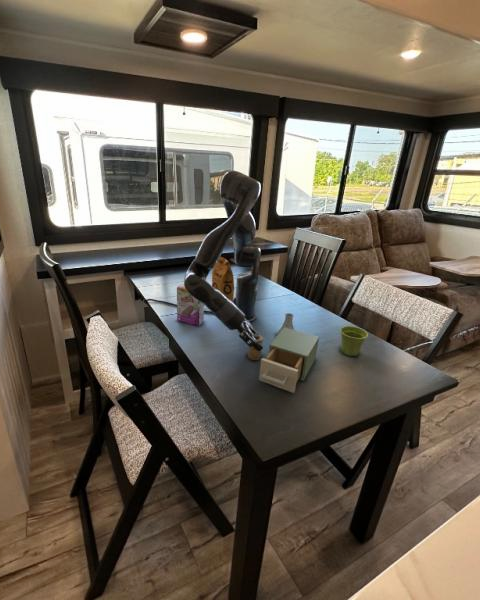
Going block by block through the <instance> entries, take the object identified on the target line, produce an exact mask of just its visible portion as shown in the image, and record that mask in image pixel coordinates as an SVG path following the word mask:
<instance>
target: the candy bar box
mask: <svg viewBox="0 0 480 600" xmlns="http://www.w3.org/2000/svg"><path fill="white" fill-rule="evenodd" d="M176 305H177V306H176V318H177V322H180V323H185V324H188V325H192V326H197V327H200V326H202V324H203V323H204V321H205V317H204V315H205V314H204V313H205V312H204V311H205V305H204V304H203V303H202V302H200V301H199V300H197V299H196V298H194V297H193V296H192V295H190V294H189V293H188V291H187V290H186V289H185V286H184V283H181V284H180V285H177V287H176Z"/></svg>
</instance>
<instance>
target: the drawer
mask: <svg viewBox="0 0 480 600" xmlns="http://www.w3.org/2000/svg"><path fill="white" fill-rule="evenodd" d="M304 360H305V357H302V356H298V355H295V354H292V353H289V352H286V351H282V350H279V349H276V348H273V349H272V351H271V352H270V353H269V352H268V354H267V356H265V358H264V357H262V358H260V366H259V374H258V375H259V377H258V381H260V382H262V383H266V384H268V385H272V386H273V387H276V388H279V389H281V390H285V391H287V392H290V393H292V394H294V393H295V392H296V386H297V383H298V381H299V377H300V376H301V374H302V371H303V366H304Z"/></svg>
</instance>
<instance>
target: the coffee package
mask: <svg viewBox="0 0 480 600" xmlns="http://www.w3.org/2000/svg"><path fill="white" fill-rule="evenodd" d="M234 279H235V278H234V273H233V270H232V267H231V265H230V261H229V260H227V259H226V258H224V257H222V256H220V257H219V259H218V261H217V263H216V265H215V266H214V267H213V268H212V269H211V286H212V287H213V288H216V289H218V290H219V291H220V292H221V293H222V294H223V295H224V296H226V298H228V299H229V300H230V301H232V302H233V303H234V298H235V296H234V293H235V280H234Z"/></svg>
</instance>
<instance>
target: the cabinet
mask: <svg viewBox="0 0 480 600" xmlns="http://www.w3.org/2000/svg"><path fill="white" fill-rule="evenodd" d="M277 334H278V333H277ZM319 339H320V336H318V335H315V334H310V333H307V332H303V331H301V330H297V329H296V330H295V329H294V330H292V329H289V328H285V327H284V328H283V330H282V331H281V332H280V333H279V334H278V335H276V336H275V338H274V339H273V340H272V341H271V343H270V344H269V349H268V354H269V353H270V352H271V351H272V349H273V348H276V349H279V350H282V351H286V352H289V353H292V354H295V355H298V356H302V357H305V360H304V366H303V371H302V374H301V376H300V377H299V379H298V381H302V382H304V381H305V379H306V377H307V375H308V374H309V372H310V371H311V368H312V366H313V364H314V363H315V361H316V356H317V350H318V346H319Z"/></svg>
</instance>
